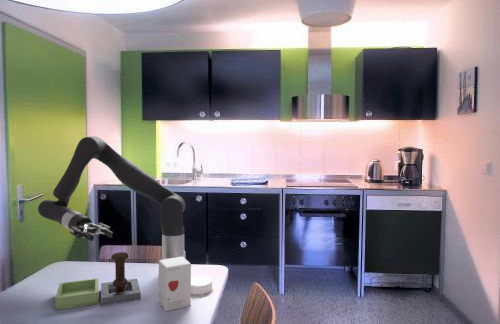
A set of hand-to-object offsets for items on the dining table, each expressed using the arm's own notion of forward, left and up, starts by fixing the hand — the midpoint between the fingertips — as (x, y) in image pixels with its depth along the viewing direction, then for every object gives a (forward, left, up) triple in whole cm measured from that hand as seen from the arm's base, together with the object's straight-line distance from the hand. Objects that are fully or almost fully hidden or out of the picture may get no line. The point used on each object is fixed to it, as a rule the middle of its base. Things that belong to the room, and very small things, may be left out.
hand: (102, 236), depth 137 cm
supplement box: (-23, +24, -20) cm, 39 cm away
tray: (+8, +7, -20) cm, 23 cm away
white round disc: (-34, +15, -20) cm, 42 cm away
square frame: (-6, +9, -20) cm, 23 cm away
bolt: (-6, +9, -20) cm, 23 cm away
